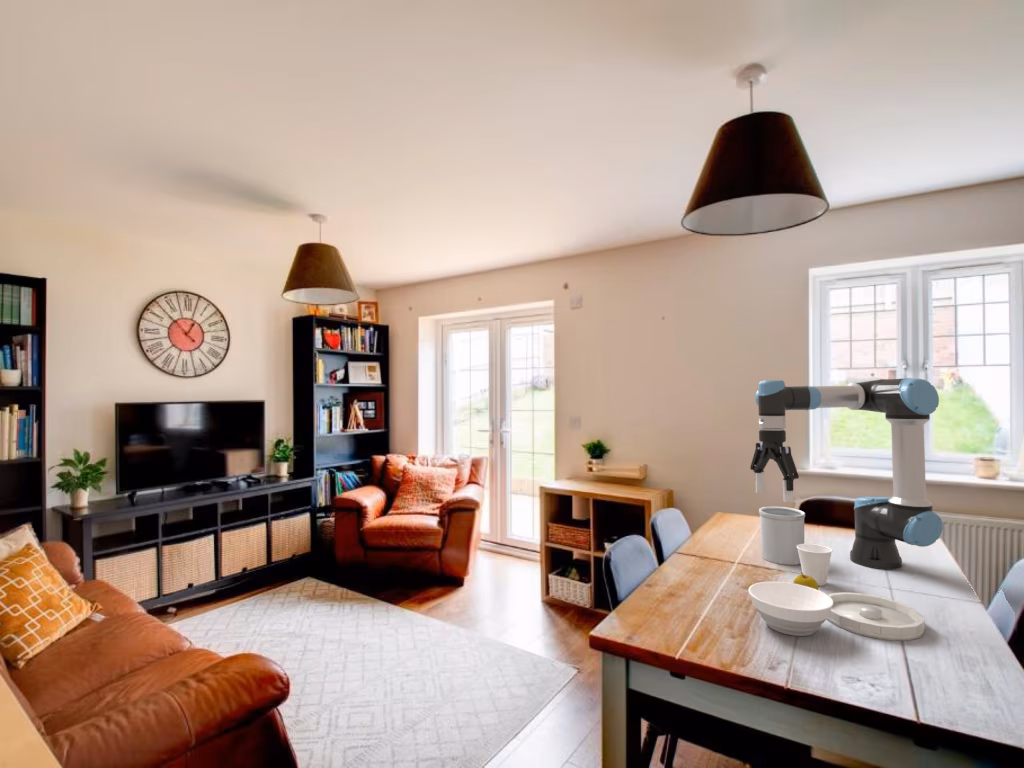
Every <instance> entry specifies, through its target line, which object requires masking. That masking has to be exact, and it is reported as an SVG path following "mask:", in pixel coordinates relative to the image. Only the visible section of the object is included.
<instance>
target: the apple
mask: <svg viewBox="0 0 1024 768" xmlns="http://www.w3.org/2000/svg"><path fill="white" fill-rule="evenodd" d="M792 583H793V584H799V585H803V586H807V587H810V588H813V589H816V590H819V586H818V584H817V582H816V581H815V580H814V579H813V578H812V577H810V576H807V575H803V573H802V571H801V572H800V574H798V575H797V576H796V577H795V578H794V579H793V582H792Z"/></svg>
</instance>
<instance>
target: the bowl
mask: <svg viewBox="0 0 1024 768" xmlns="http://www.w3.org/2000/svg"><path fill="white" fill-rule="evenodd" d="M748 593H749V597H750V599H751V601H752V604H753V605H754V607H755V608H756V609H755V610H756V611H757V613H759V615H760V617H761V619H762V620H763V621H764V622H765V623H766V625H767V626H768V627H769V628H770V629H772V630H774V631H775V632H778V633H781V634H784V635H790V636H794V637H795V636H796V637H809V636H811V635H813V634H815V632H816V631H817V630H819V628H821V626H822V625H823V623H825V621H827V620H826V619H827V617H828V616H829V613H830V611H831V609H832V606H833V600H832V599H831V598H830V597H829V596H828V594H827V593H825V592H823V591H820V590H819V589H818V590H816V589H813V588H810V587H807V586H803V585H799V584H793V582H786V581H785V582H784V581H762V582H761V581H760V582H756V583H753V584H752V585H750V586H749V587H748Z"/></svg>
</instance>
